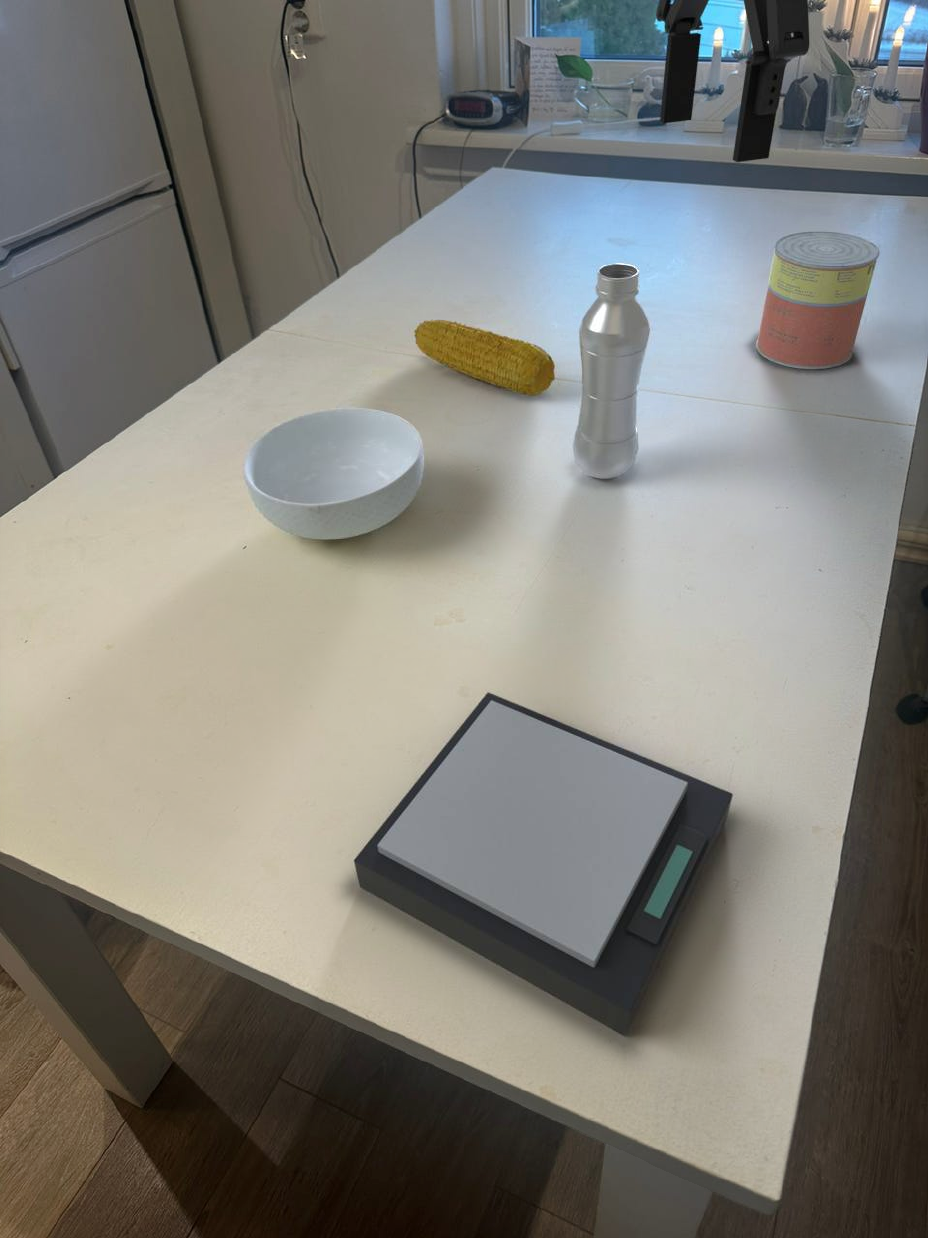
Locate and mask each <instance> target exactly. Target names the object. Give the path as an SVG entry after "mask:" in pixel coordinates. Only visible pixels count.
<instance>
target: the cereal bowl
mask: <svg viewBox="0 0 928 1238" xmlns="http://www.w3.org/2000/svg"><path fill="white" fill-rule="evenodd" d="M424 470H425V452H424V445H423V439H422V437H421V434H420V433H419V431H418V430H417V429H416V427H415V426H414V425H413V424H412V423H411V422H409V421H408V420H406V419H405V418H402V417H401V416H399V415H396V414H394V413H390V412H387V411H383V410H378V409H372V408H364V407H363V408H362V407H338V408H329V409H324V410H323V409H322V410H317V411H313V412H308V413H305V414H302V415H299V416H296V417H292V418H290V419H288V420H285V421H283V422H281V423H279V424H277V425H275V426H273V427H272V428H270V429H268V430H267V431H266V432H264V433H263V434H262V435H261V436H259V437H258V438H257V439H256V440H255V441H254V442H253V443H252V445H251V446H250V447H249V448H248V450H247V451H246V454H245V457H244V459H243V464H242V474H243V478H244V482H245V485H246V487H247V491H248V493H249V496H250V498H251V501H253V503H254V506H255V507H256V508H257V510H258V512H259V513H260V514H261V515H262V516H263V517H264V518H265V519H266V520H267V521H268V522H269V523H271V524H272V525H274V526H275V527H277V528H278V529H280V531H281V530H282V531H283V532H285V533H289V534H291V535H294V536H297V537H298V538H299V537H300V538H305V539H312V540H323V541H326V540H340V539H342V540H343V539H349V538H353V537H358V536H361V535H365V534H367V533H371V532H373V531H375V530H377V529H380V528H382V527H383V526H386V525H387V524H388V523H390V522H392V521H393V520H394V519H396V518H397V517H398V516H399V515H401V514H402V513H403V512H404V511H406V509H408V507H409V505H411V503H412V502H413V500H414V499H415V497H416V495H417V494H418V492H419V490H420V488H421V486H422V485H421V484H422V482H423V476H424Z"/></svg>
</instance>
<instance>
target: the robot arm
mask: <svg viewBox="0 0 928 1238" xmlns="http://www.w3.org/2000/svg"><path fill="white" fill-rule="evenodd" d="M709 2H710V0H658V4H657V7H656V14H655V17H656V21H657V22H663V23H664V32H665V34H667V35H668V36H667V41H666V52H665V64H664V74H663V83H662V85H663V86H662V97H661V106H660V108H661V109H660V116H659V122H660V123H661V124H669V123H677V122H687V121H692V117H693V109H694V108H693V107H694V102H695V101H694V99H695V91H696V83H697V73H698V65H699V57H700V56H699V55H700V47H701V39H702V33H699V32H697V31H702V30H703V29H704V27H703V22H702V19H701V18H702V16H703V14H704V12H705V10H706V7H707V6H708V4H709ZM743 4H744V10H745V15H746V21H747V26H748V31H749V36H750V42H751V48H752V53H751V54H750V55H749V57H748V58H747V60H746V61H745V72H744V80H743V88H742V93H741V100H740V107H739V114H738V120H737V126H736V133H735V141H734V148H733V154H732V161H734V162H736V163H742V162H750V161H759V160H764V159H765V160H766V159H769V158H770V152H771V147H772V140H773V136H774V135H773V134H774V128H775V122H776V116H777V111H778V109H779V106H780V100H781V94H782V89H783V82H784V76H785V72H786V66H787V64H788V63H790V62H791V61H792V59H794V58H798V57H802V56H803V57H804V56H806V55H807V54H808V52H809V49H810V24H809V22H810V21H809V1H808V0H743Z"/></svg>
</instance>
